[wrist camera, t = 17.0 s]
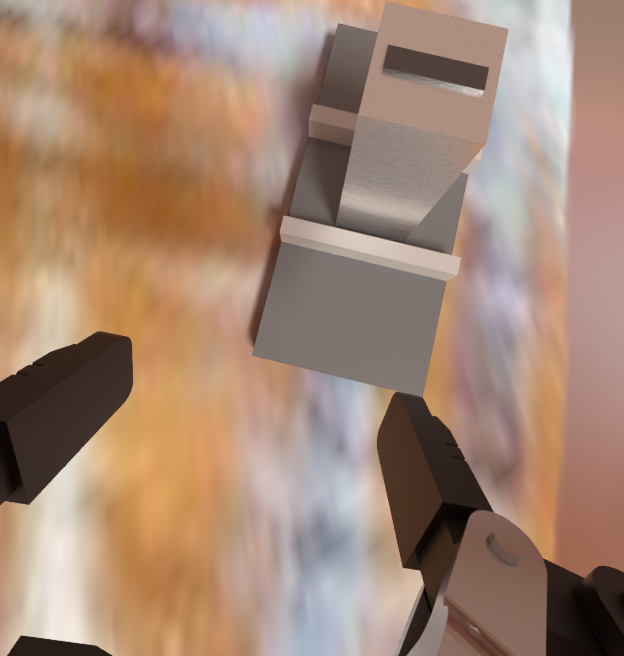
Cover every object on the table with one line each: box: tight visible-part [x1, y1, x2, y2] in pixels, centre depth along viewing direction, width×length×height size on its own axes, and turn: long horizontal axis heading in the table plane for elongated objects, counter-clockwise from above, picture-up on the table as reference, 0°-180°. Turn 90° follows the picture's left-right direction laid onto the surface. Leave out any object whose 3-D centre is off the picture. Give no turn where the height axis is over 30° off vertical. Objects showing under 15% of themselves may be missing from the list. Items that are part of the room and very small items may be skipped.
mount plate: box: [252, 23, 483, 397], centre depth 22 cm, size 12×26×4 cm, turn 166°
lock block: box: [335, 1, 508, 242], centre depth 17 cm, size 5×5×10 cm
